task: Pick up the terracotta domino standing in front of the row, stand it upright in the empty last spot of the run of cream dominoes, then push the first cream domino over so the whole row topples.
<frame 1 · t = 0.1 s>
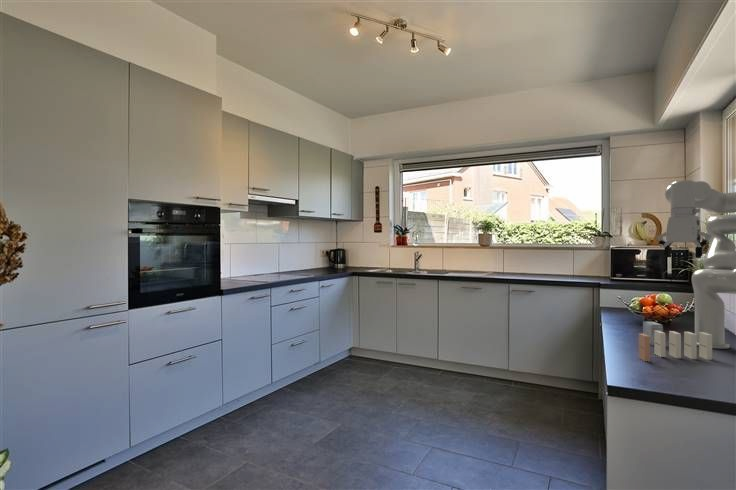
hand: (683, 257, 157), 37 cm above the countertop, tool pointing down, fingers open, 9 cm apart
domino 4: (659, 355, 153), on the countertop
domino 2: (690, 357, 151), on the countertop
domino 3: (674, 356, 152), on the countertop
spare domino: (644, 359, 148), on the countertop
medicine box: (652, 344, 173), on the countertop
domino 1: (705, 358, 150), on the countertop
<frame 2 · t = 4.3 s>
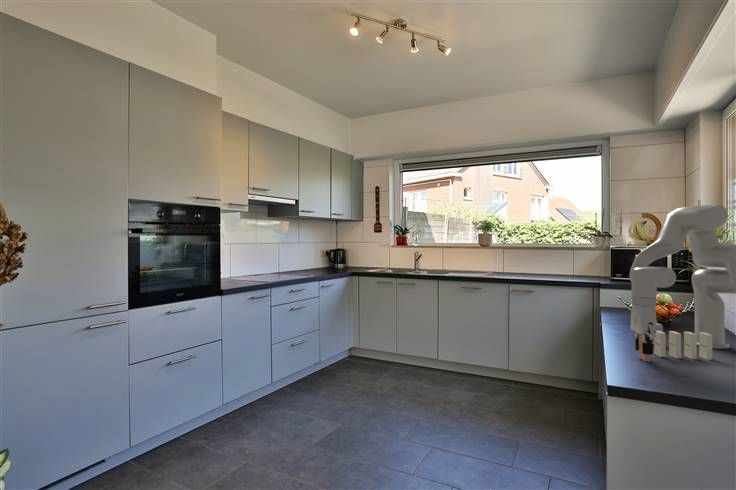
hand: (644, 351, 148), 3 cm above the countertop, tool pointing down, fingers closed on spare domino, 4 cm apart
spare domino: (644, 359, 148), on the countertop, touching gripper
everything else where it was.
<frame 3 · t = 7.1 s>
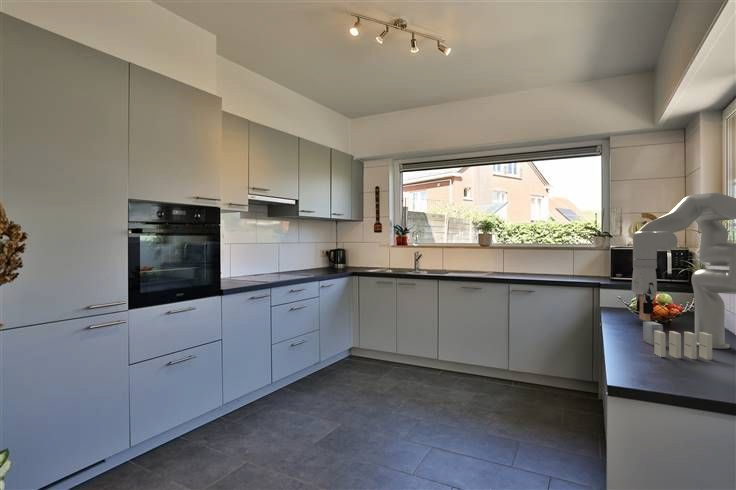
hand: (644, 312, 154), 16 cm above the countertop, tool pointing down, fingers closed on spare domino, 4 cm apart
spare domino: (644, 319, 154), point 13 cm above the countertop, touching gripper
everything else where it was.
when the fingers open (4 cm above the countertop, at t = 10.0 s): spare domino stays where it is, on the countertop.
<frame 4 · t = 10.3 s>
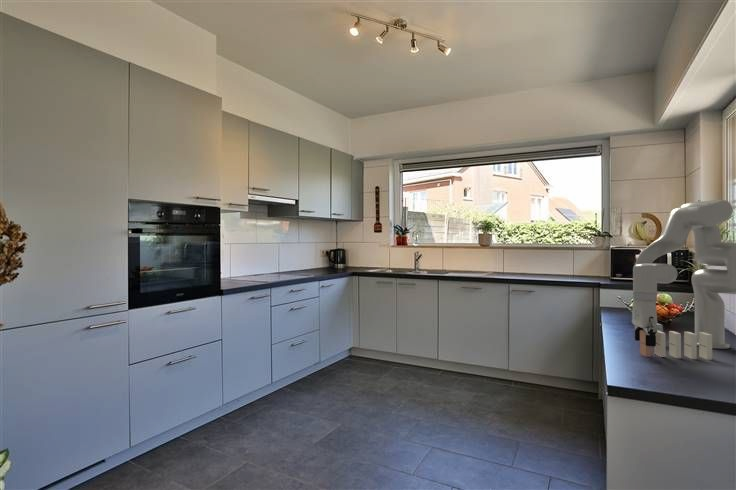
hand: (645, 343, 154), 5 cm above the countertop, tool pointing down, fingers open, 8 cm apart
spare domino: (645, 355, 154), on the countertop
everything else where it was.
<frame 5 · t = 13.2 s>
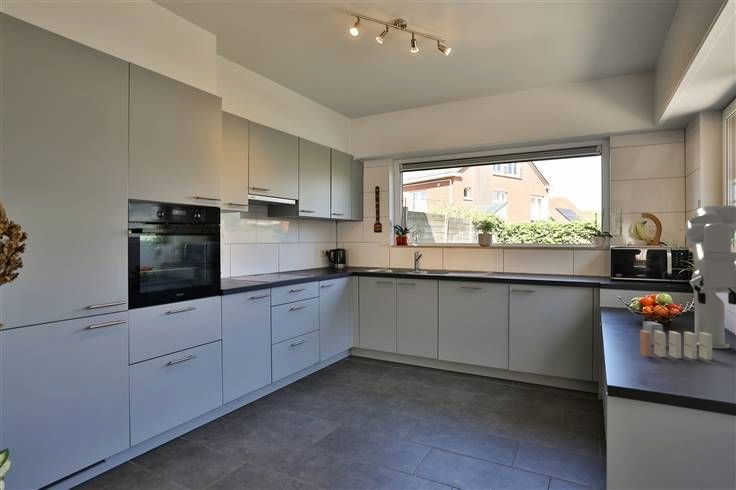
hand: (717, 303, 150), 20 cm above the countertop, tool pointing down, fingers open, 9 cm apart
nothing on the countertop moved.
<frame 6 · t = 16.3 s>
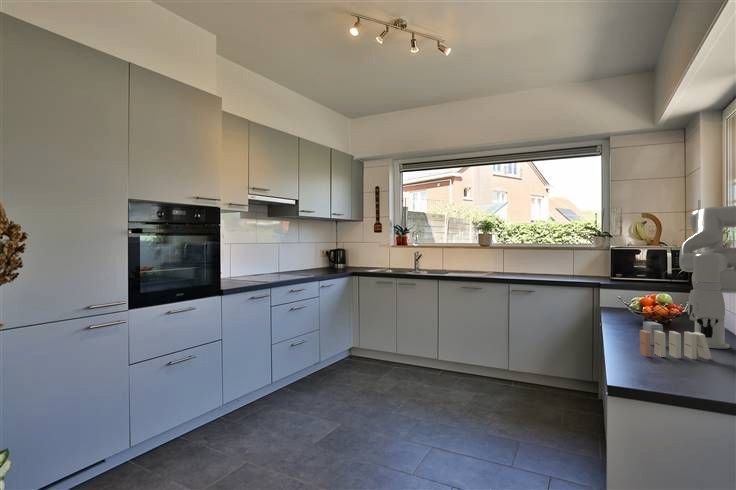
hand: (706, 337, 150), 8 cm above the countertop, tool pointing down, fingers closed
domino 1: (705, 357, 150), on the countertop, tilted 15°
everything else where it was.
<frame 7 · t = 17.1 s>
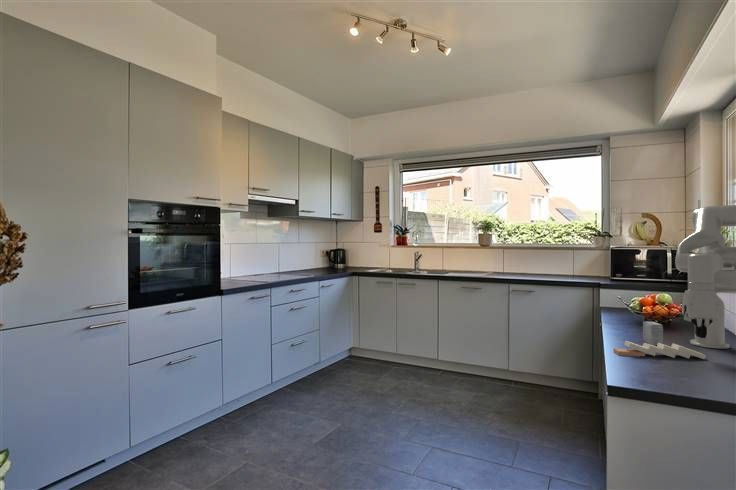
hand: (700, 337, 151), 8 cm above the countertop, tool pointing down, fingers closed
domino 4: (652, 352, 154), point 1 cm above the countertop, tilted 72°, touching domino 3, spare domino
domino 2: (686, 355, 152), point 1 cm above the countertop, tilted 71°, touching domino 1, domino 3
domino 3: (671, 354, 153), point 1 cm above the countertop, tilted 72°, touching domino 2, domino 4
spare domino: (642, 353, 155), point 1 cm above the countertop, tilted 90°, touching domino 4
domino 1: (701, 355, 151), point 1 cm above the countertop, tilted 71°, touching domino 2
everything else where it was.
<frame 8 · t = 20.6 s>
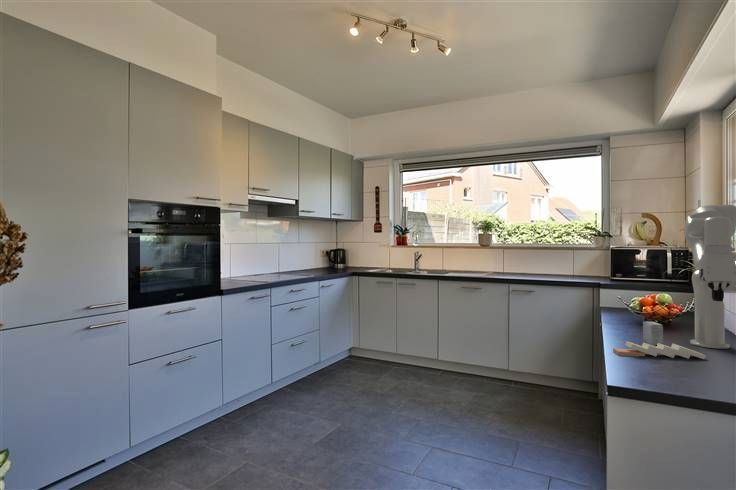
hand: (717, 300, 150), 21 cm above the countertop, tool pointing down, fingers closed
domino 4: (653, 353, 154), point 1 cm above the countertop, tilted 72°, touching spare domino
domino 3: (670, 354, 153), point 1 cm above the countertop, tilted 72°, touching domino 2
everything else where it was.
at the end: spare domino tilted 90°; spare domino inside the target area (1.1 cm from its centre), point 0.6 cm above the countertop; domino 1 tilted 71° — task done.
